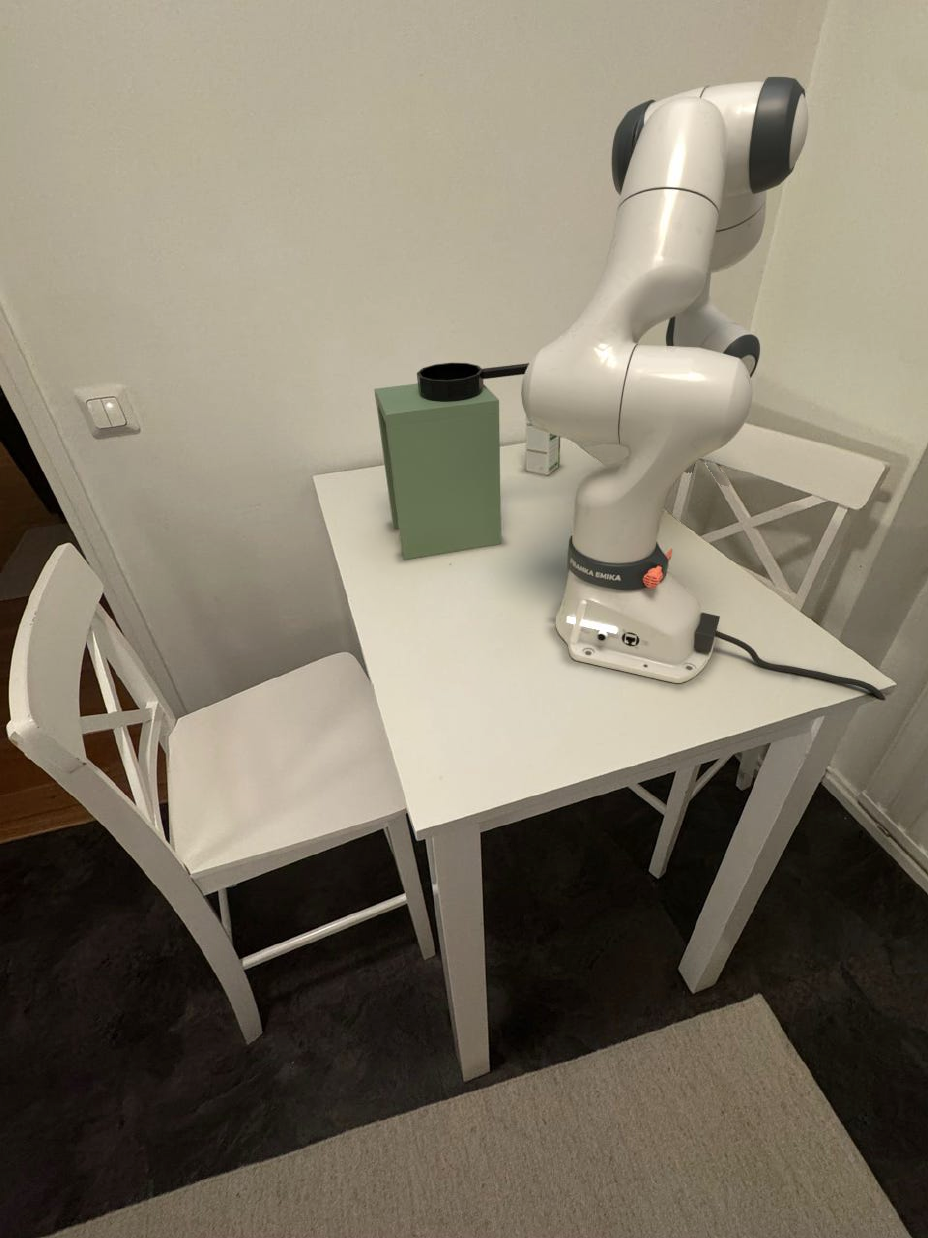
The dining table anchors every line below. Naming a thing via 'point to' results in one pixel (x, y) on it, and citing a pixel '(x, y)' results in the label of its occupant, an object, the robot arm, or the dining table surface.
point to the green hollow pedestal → (441, 470)
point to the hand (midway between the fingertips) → (605, 403)
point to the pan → (459, 380)
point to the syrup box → (541, 450)
